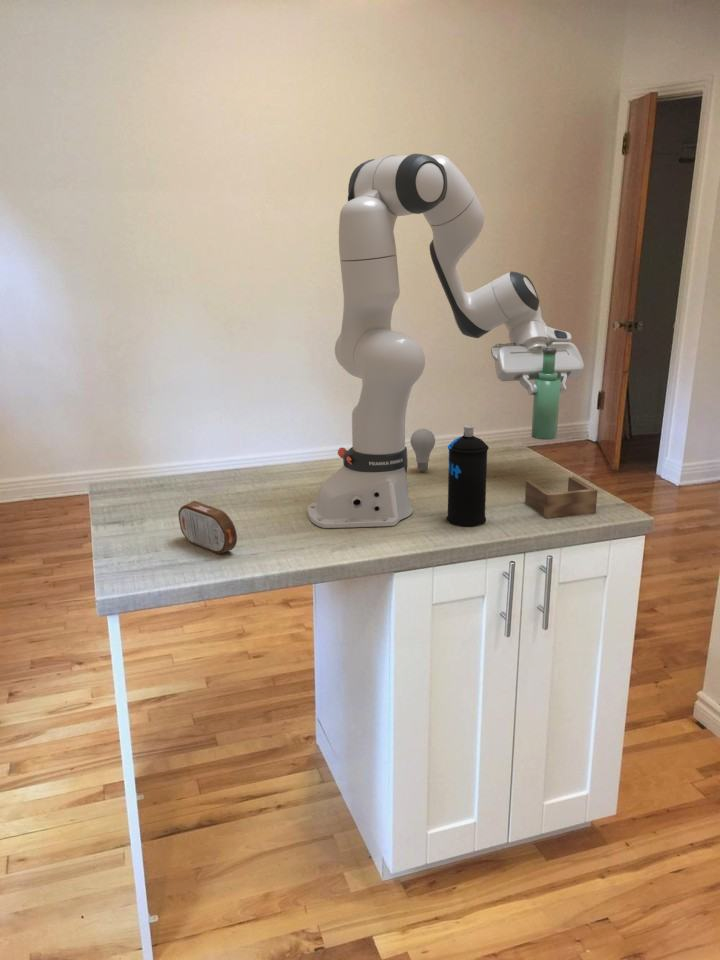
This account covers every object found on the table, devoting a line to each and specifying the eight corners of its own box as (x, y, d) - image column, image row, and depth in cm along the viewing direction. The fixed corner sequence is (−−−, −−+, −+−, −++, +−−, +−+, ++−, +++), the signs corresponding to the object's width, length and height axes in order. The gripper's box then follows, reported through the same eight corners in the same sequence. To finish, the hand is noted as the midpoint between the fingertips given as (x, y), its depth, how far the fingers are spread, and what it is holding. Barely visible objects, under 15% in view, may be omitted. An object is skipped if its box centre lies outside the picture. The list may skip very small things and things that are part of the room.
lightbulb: (422, 466, 201) (423, 424, 197) (439, 471, 196) (440, 429, 193) (405, 471, 197) (405, 428, 194) (422, 476, 192) (422, 433, 189)
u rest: (546, 518, 164) (547, 495, 162) (524, 502, 173) (526, 481, 172) (595, 512, 166) (597, 490, 165) (572, 497, 176) (573, 476, 174)
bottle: (538, 440, 175) (543, 351, 169) (527, 434, 180) (532, 347, 174) (561, 438, 176) (567, 350, 170) (549, 432, 181) (555, 346, 175)
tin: (239, 554, 148) (236, 512, 146) (226, 560, 146) (223, 517, 143) (190, 536, 158) (187, 496, 155) (177, 540, 156) (174, 500, 153)
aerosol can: (485, 513, 167) (488, 421, 161) (487, 527, 159) (490, 431, 153) (446, 512, 168) (447, 421, 162) (446, 526, 160) (448, 431, 154)
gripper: (493, 335, 176) (509, 387, 169) (576, 332, 180) (595, 382, 174) (484, 353, 181) (500, 403, 175) (565, 349, 186) (583, 398, 180)
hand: (548, 392), depth 174 cm, fingers closed on bottle, 6 cm apart
